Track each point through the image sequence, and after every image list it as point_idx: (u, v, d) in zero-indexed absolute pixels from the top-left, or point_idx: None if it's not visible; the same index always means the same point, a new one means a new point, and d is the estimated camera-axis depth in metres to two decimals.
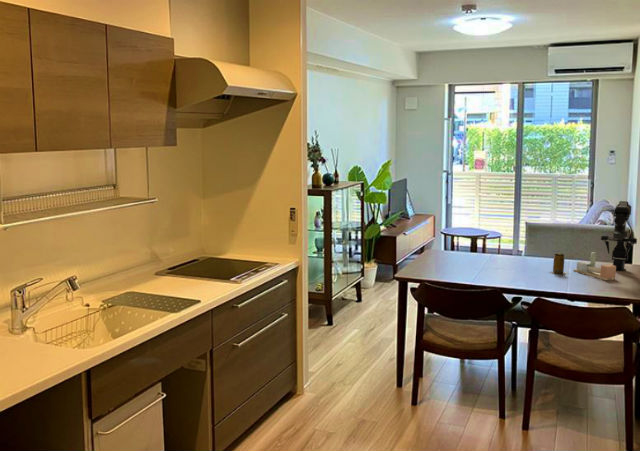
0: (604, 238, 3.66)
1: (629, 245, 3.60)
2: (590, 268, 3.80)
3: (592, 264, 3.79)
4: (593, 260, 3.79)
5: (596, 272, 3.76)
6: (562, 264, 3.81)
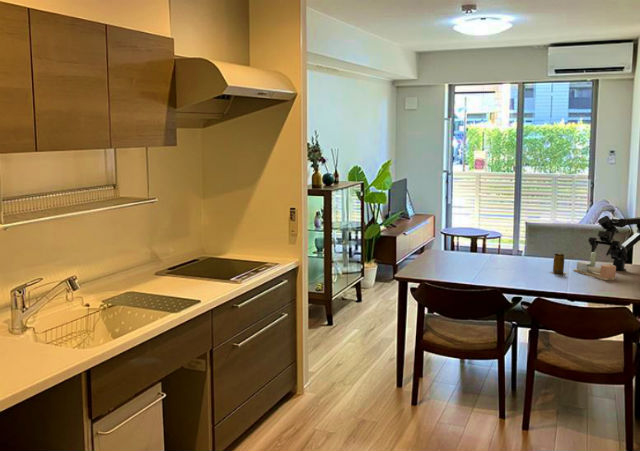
0: (591, 238, 3.90)
1: (611, 246, 3.80)
2: (590, 268, 3.80)
3: (592, 264, 3.79)
4: (593, 260, 3.79)
5: (596, 272, 3.76)
6: (562, 264, 3.81)
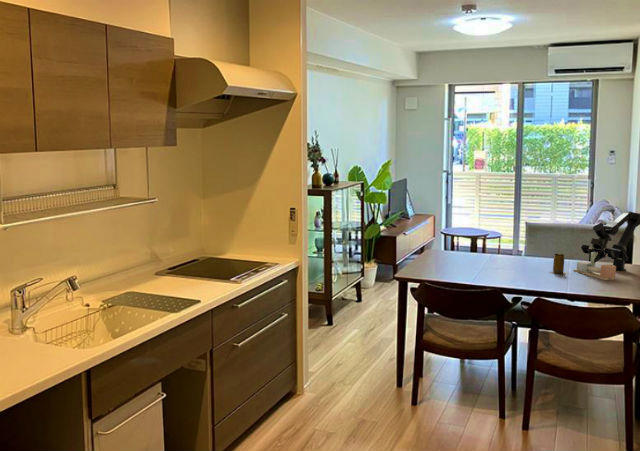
0: (584, 246, 3.86)
1: (599, 253, 3.78)
2: (590, 268, 3.80)
3: (592, 264, 3.79)
4: (593, 260, 3.79)
5: (596, 272, 3.76)
6: (562, 264, 3.81)
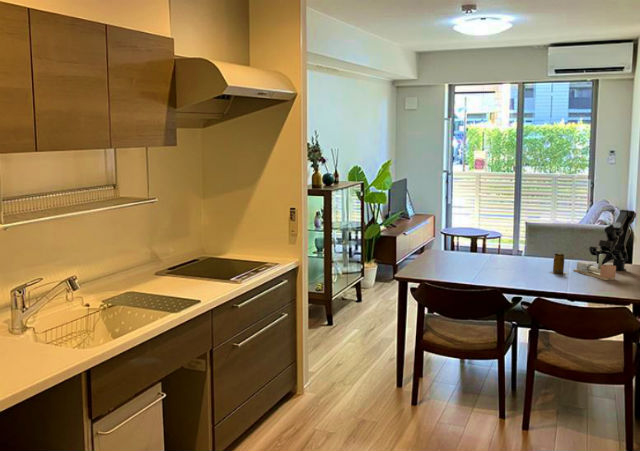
0: (592, 247, 3.80)
1: (607, 255, 3.72)
2: (598, 270, 3.74)
3: (600, 266, 3.73)
4: (601, 262, 3.73)
5: None
6: (562, 264, 3.81)
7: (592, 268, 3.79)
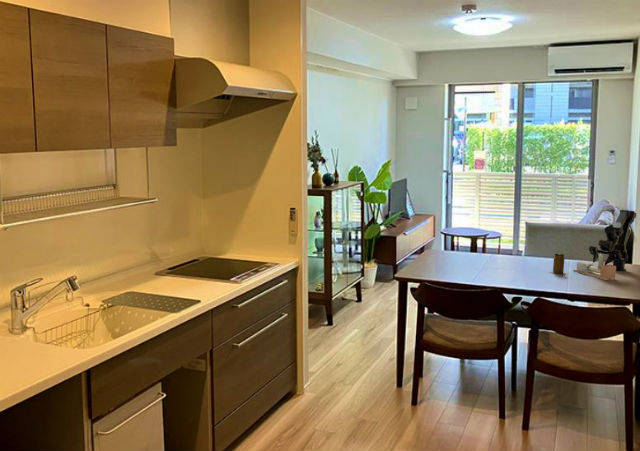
0: (591, 247, 3.81)
1: (610, 255, 3.71)
2: (598, 270, 3.74)
3: (600, 266, 3.73)
4: (601, 262, 3.73)
5: None
6: (562, 264, 3.81)
7: (592, 268, 3.79)
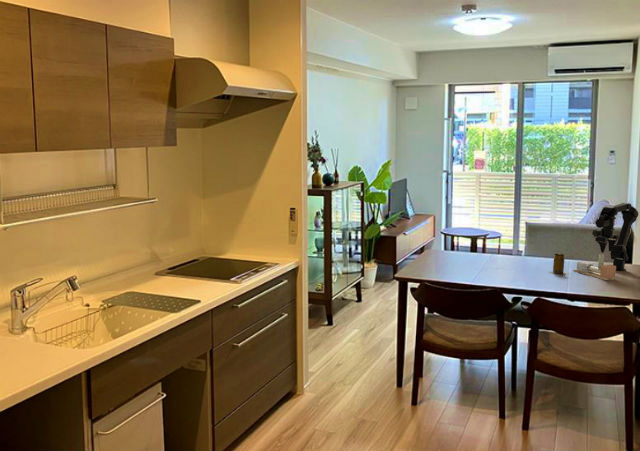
0: None
1: None
2: (598, 270, 3.74)
3: (600, 266, 3.73)
4: (601, 262, 3.73)
5: None
6: (562, 264, 3.81)
7: (592, 268, 3.79)
